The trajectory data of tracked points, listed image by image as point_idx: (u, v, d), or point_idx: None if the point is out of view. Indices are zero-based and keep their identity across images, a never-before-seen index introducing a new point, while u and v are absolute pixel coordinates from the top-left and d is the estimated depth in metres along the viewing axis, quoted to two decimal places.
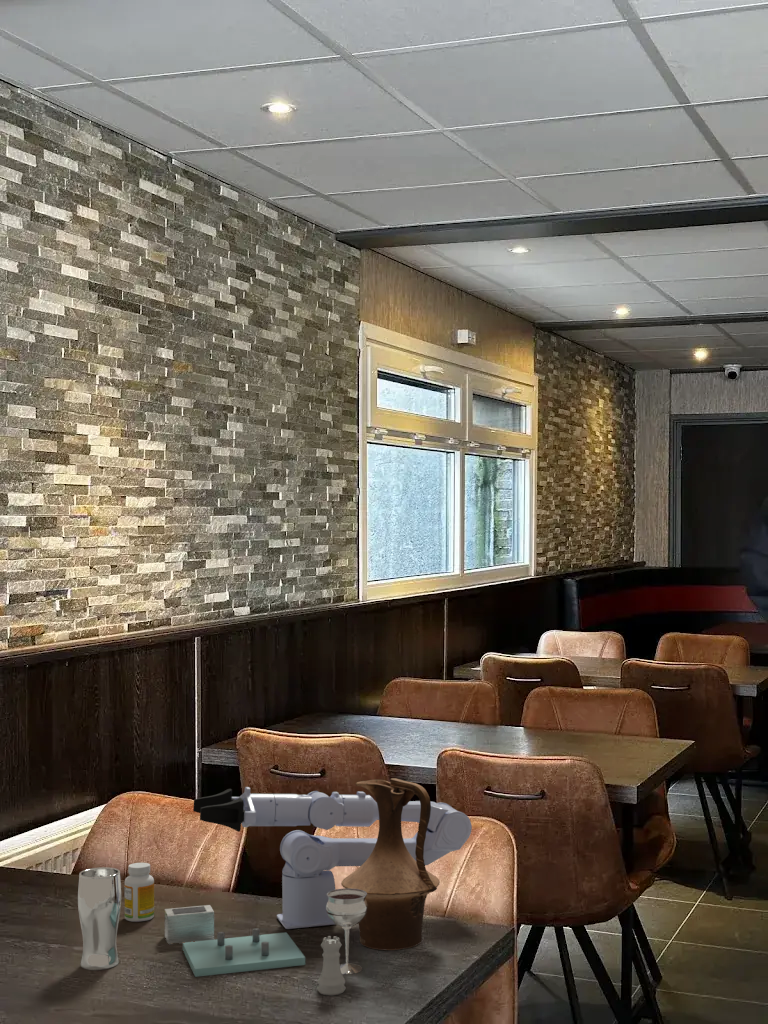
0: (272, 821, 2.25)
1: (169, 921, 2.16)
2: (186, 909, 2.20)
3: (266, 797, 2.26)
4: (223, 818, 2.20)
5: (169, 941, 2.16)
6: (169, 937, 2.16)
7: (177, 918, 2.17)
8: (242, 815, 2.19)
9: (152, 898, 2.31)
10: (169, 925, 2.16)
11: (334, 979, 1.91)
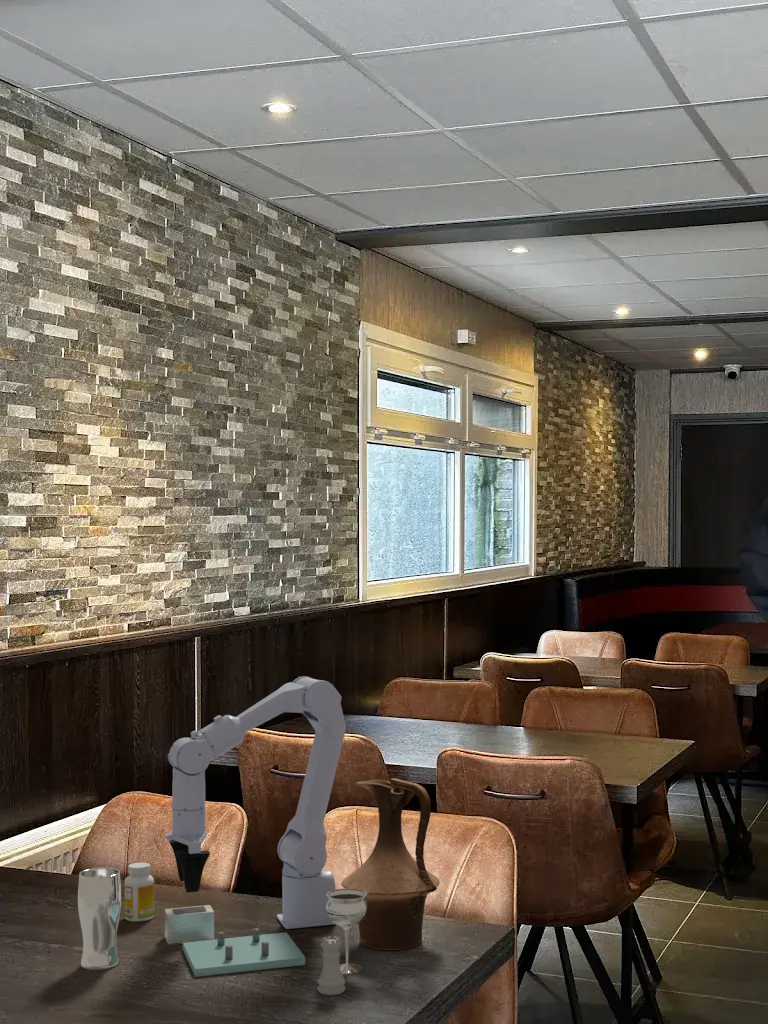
0: (200, 811, 2.18)
1: (169, 921, 2.16)
2: (186, 909, 2.20)
3: (175, 818, 2.18)
4: (196, 868, 2.16)
5: (169, 941, 2.16)
6: (169, 937, 2.16)
7: (177, 918, 2.17)
8: (192, 853, 2.14)
9: (152, 898, 2.31)
10: (169, 925, 2.16)
11: (334, 979, 1.91)
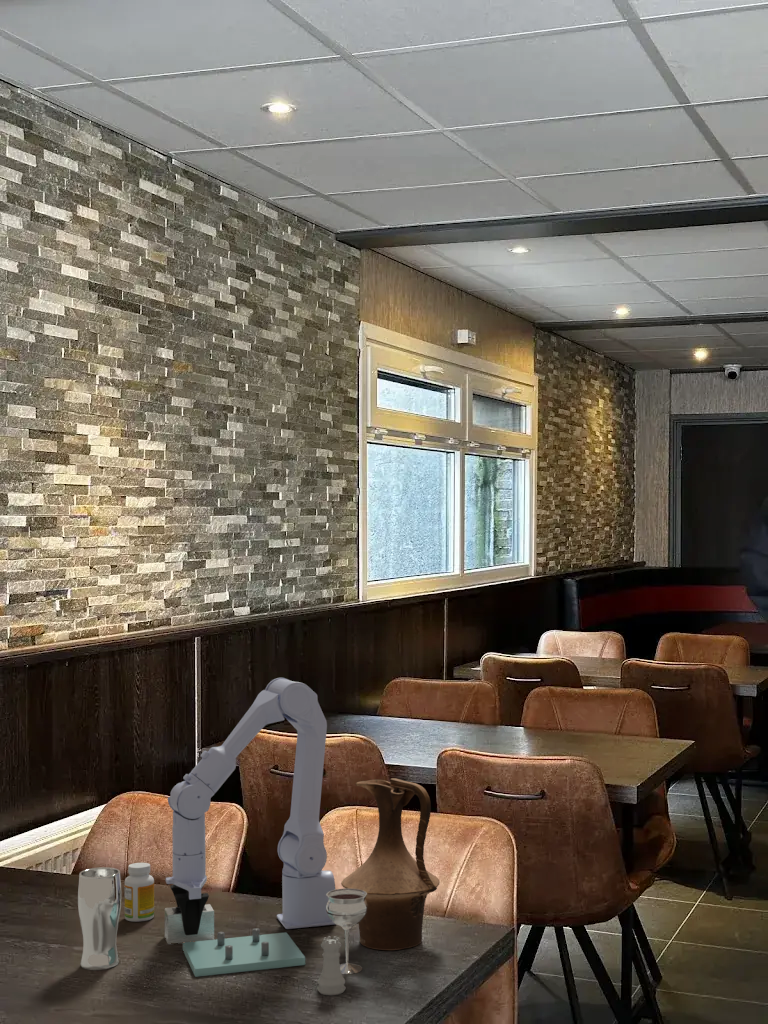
0: (200, 855, 2.18)
1: (169, 920, 2.16)
2: None
3: (175, 863, 2.18)
4: (195, 911, 2.17)
5: (169, 940, 2.16)
6: (169, 936, 2.16)
7: (177, 917, 2.17)
8: None
9: (152, 898, 2.31)
10: (169, 924, 2.16)
11: (334, 979, 1.91)
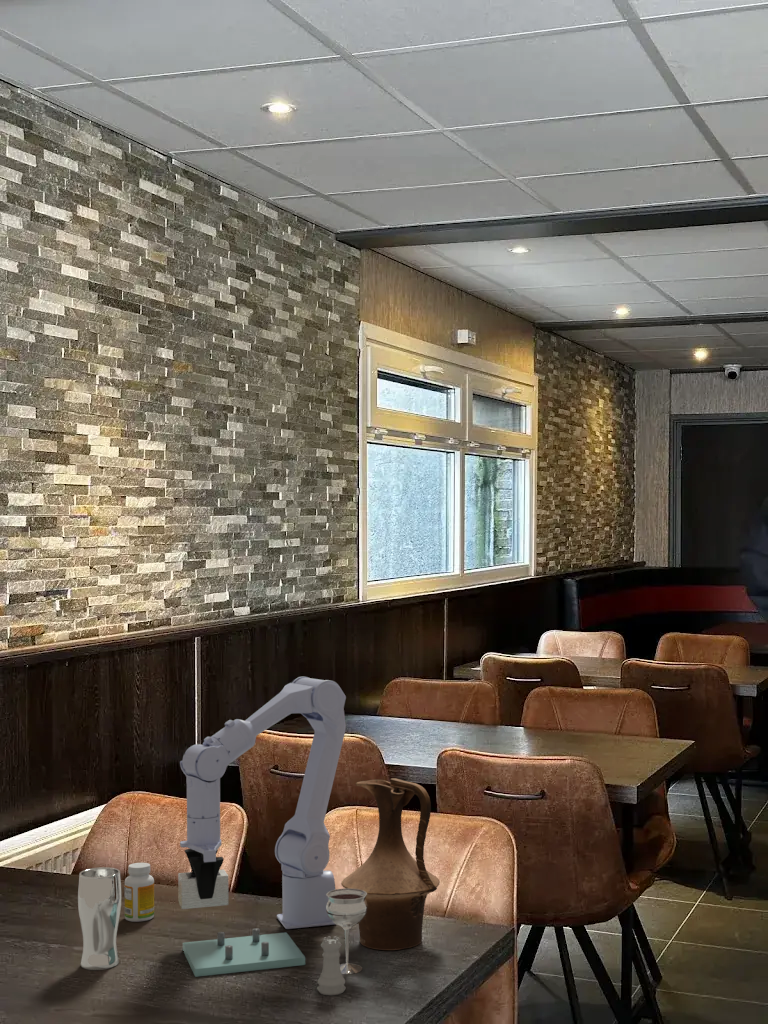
0: (214, 819, 2.15)
1: (183, 885, 2.13)
2: None
3: (190, 826, 2.15)
4: (210, 874, 2.14)
5: (183, 905, 2.13)
6: (183, 901, 2.13)
7: (191, 882, 2.14)
8: None
9: (152, 898, 2.31)
10: (183, 889, 2.13)
11: (334, 979, 1.91)
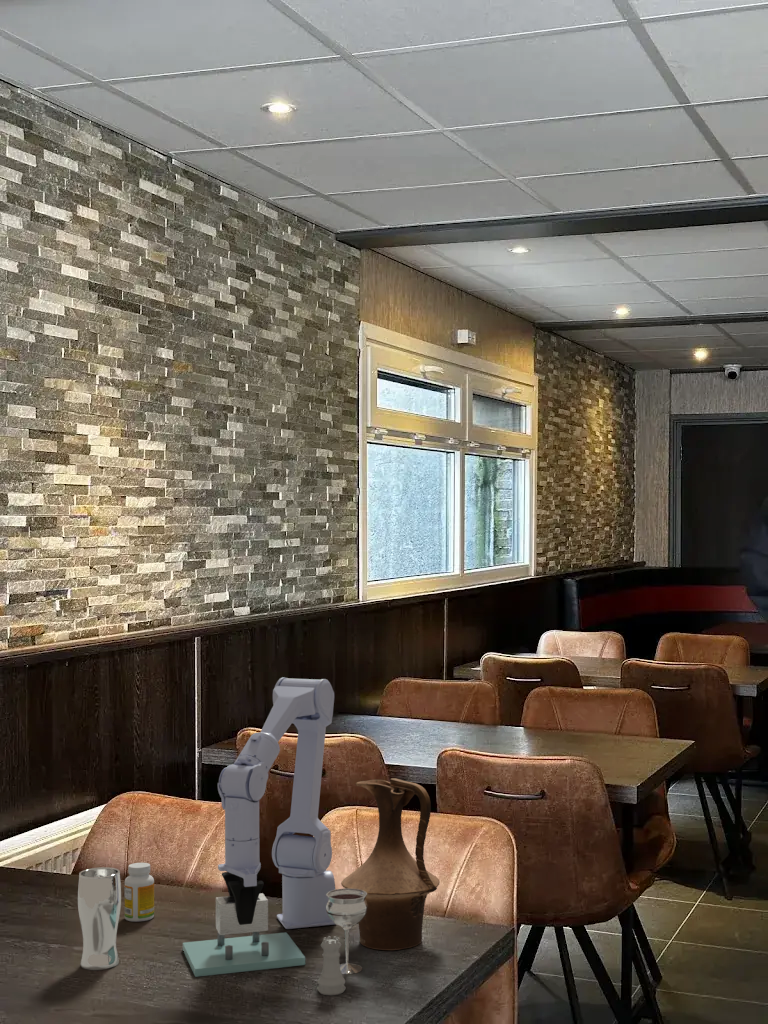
0: (254, 841, 2.08)
1: (221, 910, 2.06)
2: None
3: (229, 849, 2.07)
4: (249, 899, 2.06)
5: (221, 931, 2.06)
6: (221, 926, 2.06)
7: (230, 907, 2.06)
8: None
9: (152, 898, 2.31)
10: (221, 914, 2.06)
11: (334, 979, 1.91)
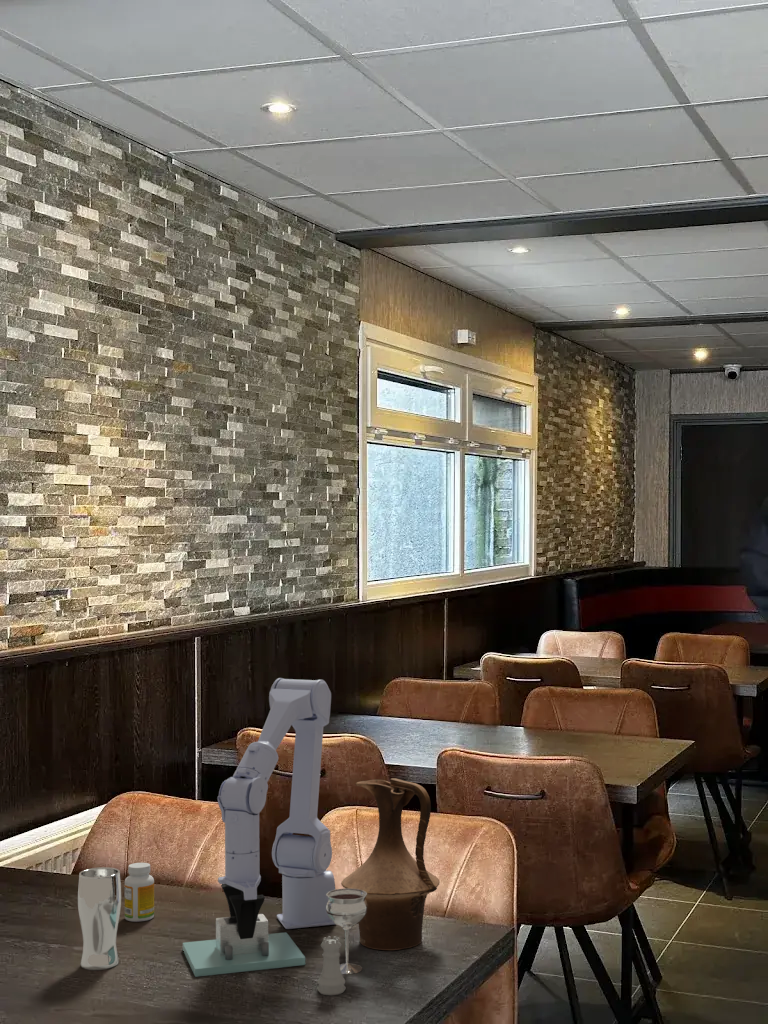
0: (254, 854, 2.08)
1: (222, 931, 2.06)
2: None
3: (229, 862, 2.07)
4: (250, 913, 2.06)
5: (222, 952, 2.06)
6: (222, 948, 2.06)
7: (230, 928, 2.06)
8: None
9: (152, 898, 2.31)
10: (222, 935, 2.06)
11: (334, 979, 1.91)
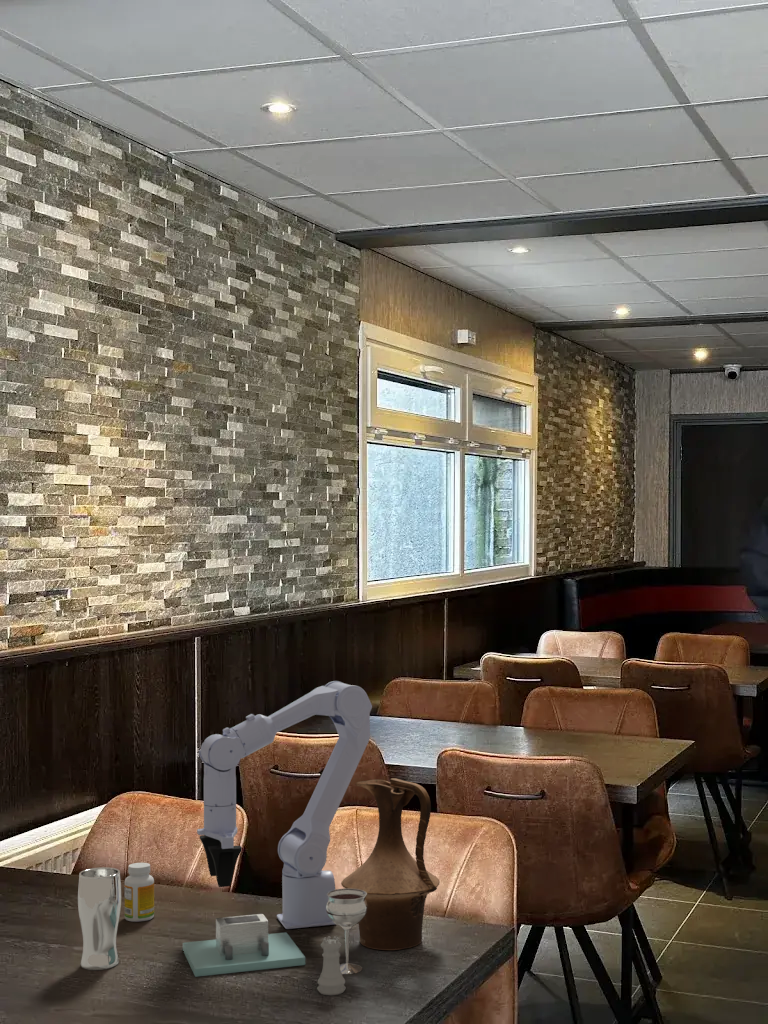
0: (231, 807, 2.21)
1: (222, 931, 2.06)
2: (239, 918, 2.09)
3: (207, 814, 2.20)
4: (228, 863, 2.18)
5: (222, 952, 2.06)
6: (222, 948, 2.06)
7: (230, 928, 2.06)
8: (225, 848, 2.16)
9: (152, 898, 2.31)
10: (222, 935, 2.06)
11: (334, 979, 1.91)
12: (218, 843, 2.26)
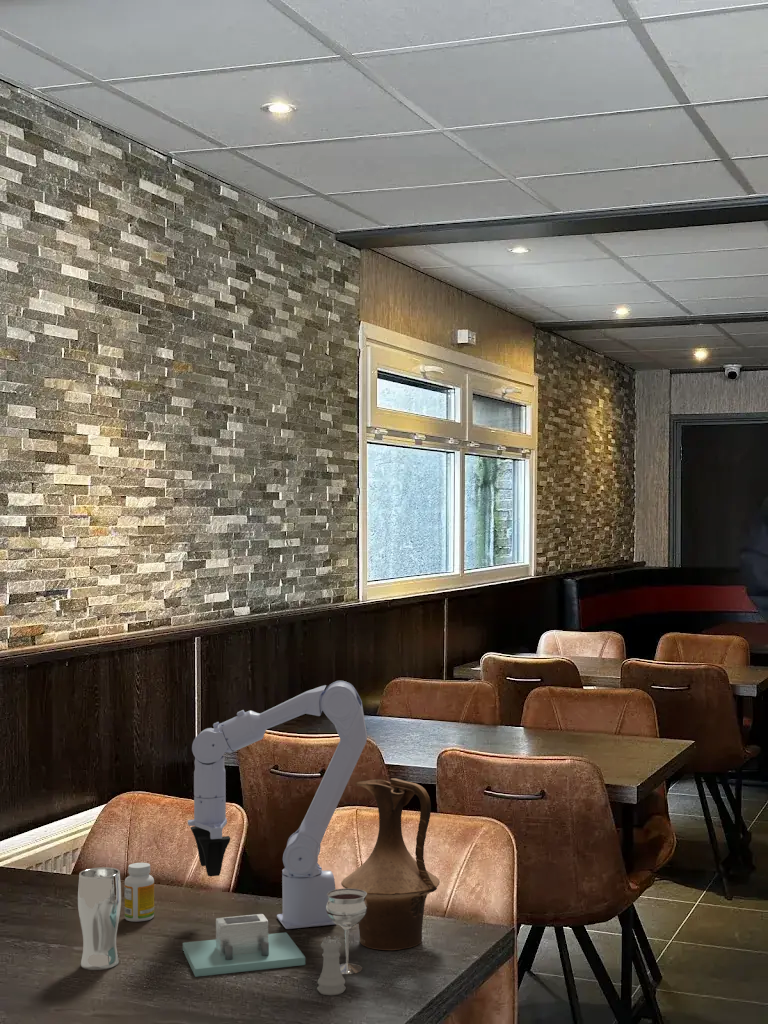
0: (220, 798, 2.27)
1: (222, 931, 2.06)
2: (239, 918, 2.09)
3: (197, 805, 2.27)
4: (217, 853, 2.25)
5: (222, 952, 2.06)
6: (222, 948, 2.06)
7: (230, 928, 2.06)
8: (214, 839, 2.23)
9: (152, 898, 2.31)
10: (222, 935, 2.06)
11: (334, 979, 1.91)
12: (208, 834, 2.32)
